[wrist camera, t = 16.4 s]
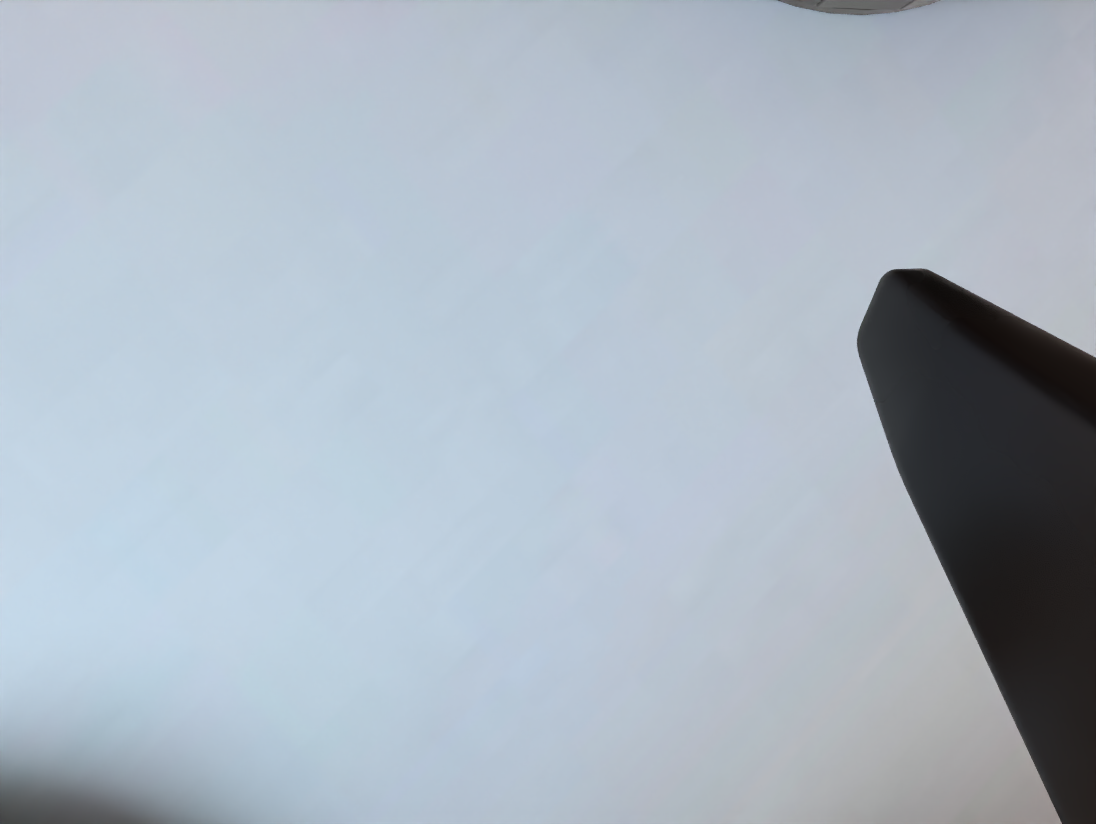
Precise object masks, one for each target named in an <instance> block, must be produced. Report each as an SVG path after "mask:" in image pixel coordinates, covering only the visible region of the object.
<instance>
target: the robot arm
mask: <svg viewBox="0 0 1096 824" xmlns="http://www.w3.org/2000/svg"><path fill="white" fill-rule="evenodd" d="M857 347H858V353H859V357H860V360H861V363H862V366H863V369H864V372H865V375H866V378H867V381H868V384H869V387H870V390H871V393H872V396H873V399H874V402H875V405H876V408H877V411H878V414H879V417H880V420H881V423H882V426H883V428H884V431H885V434H886V437H887V440H888V443H889V446H890V449H891V452H892V455H893V458H894V460H895V463H896V466H897V468H898V471H899V473H900V476H901V478H902V480H903V483H904V485H905V487H906V489H907V492H908V494H909V496H910V498H911V500H912V502H913V505H914V507H915V509H916V511H917V513H918V515H919V517H920V520H921V522H922V524H923V526H924V528H925V530H926V532H927V535H928V537H929V539H930V541H931V543H932V545H933V547H934V550H935V552H936V554H937V556H938V558H939V560H940V563H941V565H942V567H943V569H944V571H945V573H946V575H947V578H948V580H949V582H950V584H951V586H952V588H953V590H954V593H955V595H956V597H957V599H958V601H959V603H960V605H961V608H962V610H963V612H964V614H965V616H966V618H967V620H968V623H969V625H970V627H971V629H972V631H973V633H974V636H975V638H976V640H977V642H978V644H979V646H980V648H981V651H982V653H983V655H984V657H985V659H986V661H987V663H988V666H989V668H990V670H991V672H992V674H993V676H994V678H995V681H996V683H997V685H998V687H999V689H1000V691H1001V694H1002V696H1003V698H1004V700H1005V702H1006V704H1007V706H1008V709H1009V711H1010V713H1011V715H1012V717H1013V719H1014V721H1015V724H1016V726H1017V728H1018V730H1019V732H1020V734H1021V736H1022V739H1023V741H1024V743H1025V745H1026V747H1027V749H1028V751H1029V754H1030V756H1031V758H1032V760H1033V762H1034V764H1035V767H1036V769H1037V771H1038V773H1039V775H1040V777H1041V779H1042V782H1043V784H1044V786H1045V788H1046V790H1047V792H1048V794H1049V797H1050V799H1051V801H1052V803H1053V805H1054V807H1055V809H1056V812H1057V814H1058V816H1059V818H1060V820H1061V822H1062V824H1096V358H1095V357H1093V356H1091V355H1090V354H1088V353H1086V352H1084V351H1082V350H1080V349H1078V348H1076V347H1074V346H1072V345H1071V344H1069V343H1067V342H1065V341H1063V340H1061V339H1059V338H1057V337H1055V336H1053V335H1052V334H1050V333H1048V332H1046V331H1044V330H1042V329H1040V328H1038V327H1036V326H1034V325H1033V324H1031V323H1029V322H1027V321H1025V320H1023V319H1021V318H1019V317H1017V316H1015V315H1013V314H1012V313H1010V312H1008V311H1006V310H1004V309H1002V308H1000V307H998V306H996V305H994V304H993V303H991V302H989V301H987V300H985V299H983V298H981V297H979V296H977V295H975V294H974V293H972V292H970V291H968V290H966V289H964V288H962V287H960V286H958V285H956V284H955V283H953V282H951V281H949V280H947V279H945V278H943V277H941V276H939V275H937V274H936V273H934V272H932V271H929V270H927V269H894V270H891V271H889V272H887V273H886V274H885V275H884V276H883V277H882V278H881V280H880V282H879V284H878V286H877V288H876V291H875V293H874V295H873V298H872V300H871V302H870V305H869V307H868V310H867V312H866V314H865V317H864V319H863V321H862V324H861V326H860V329H859V332H858V338H857Z"/></svg>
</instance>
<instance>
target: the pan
mask: <svg viewBox="0 0 1096 824" xmlns="http://www.w3.org/2000/svg"><path fill="white" fill-rule="evenodd" d="M778 1H781V2H784V3H787V4H790V5H793V6H796V7H801V8H806V9H811V10H816V11H821V12H826V13H836V14H854V15H868V14H880V13H892V12H899V11H903V10H908V9H912V8H917V7H921V6H925V5H929V4H932V3H935V2H937V1H940V0H778Z"/></svg>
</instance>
